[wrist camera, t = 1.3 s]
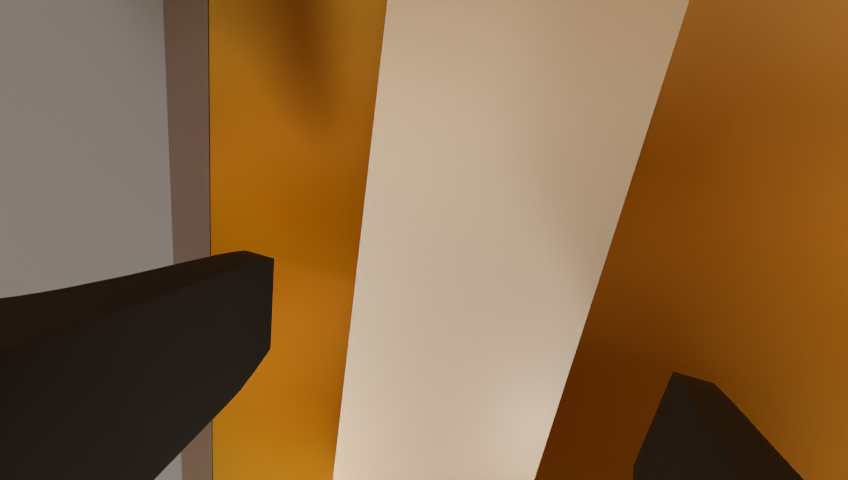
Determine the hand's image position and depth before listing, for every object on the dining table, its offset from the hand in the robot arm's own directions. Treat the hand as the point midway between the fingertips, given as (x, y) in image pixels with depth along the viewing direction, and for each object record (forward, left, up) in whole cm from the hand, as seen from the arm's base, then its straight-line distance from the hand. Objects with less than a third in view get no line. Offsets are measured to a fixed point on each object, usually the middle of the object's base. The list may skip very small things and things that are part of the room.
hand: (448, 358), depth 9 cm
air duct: (0, 0, -4) cm, 4 cm away
